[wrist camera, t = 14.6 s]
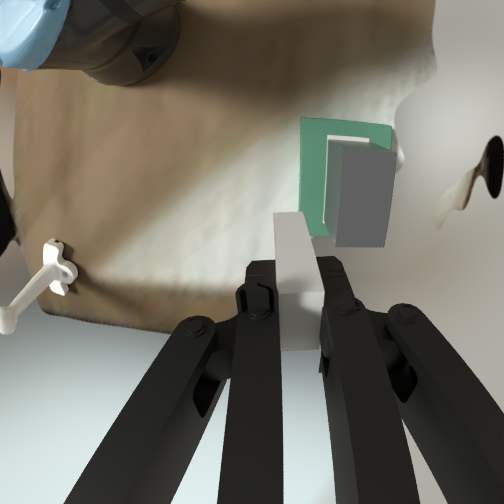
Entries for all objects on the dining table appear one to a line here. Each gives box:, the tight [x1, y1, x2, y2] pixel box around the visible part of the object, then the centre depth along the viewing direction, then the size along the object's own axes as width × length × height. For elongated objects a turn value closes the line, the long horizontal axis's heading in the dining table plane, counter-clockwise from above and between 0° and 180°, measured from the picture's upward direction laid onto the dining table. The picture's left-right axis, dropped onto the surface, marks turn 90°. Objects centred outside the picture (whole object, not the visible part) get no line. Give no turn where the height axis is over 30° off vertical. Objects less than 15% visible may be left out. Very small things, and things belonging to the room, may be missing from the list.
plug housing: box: [324, 139, 397, 247], centre depth 33 cm, size 11×6×8 cm, turn 1°
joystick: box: [0, 238, 78, 334], centre depth 39 cm, size 11×8×20 cm
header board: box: [299, 118, 392, 236], centre depth 36 cm, size 16×12×6 cm
